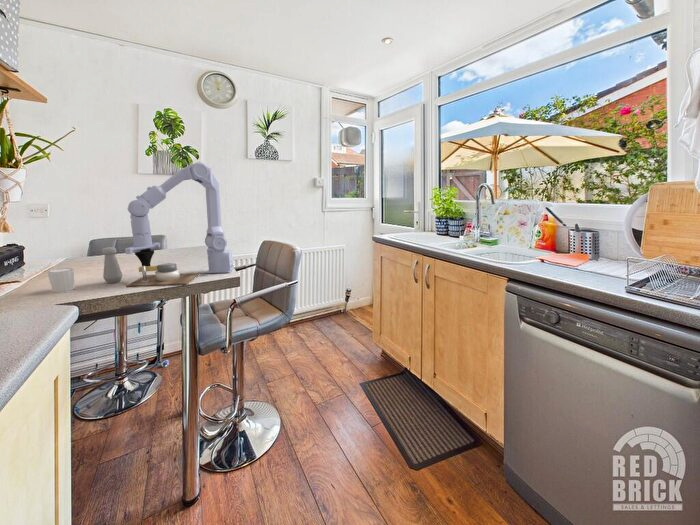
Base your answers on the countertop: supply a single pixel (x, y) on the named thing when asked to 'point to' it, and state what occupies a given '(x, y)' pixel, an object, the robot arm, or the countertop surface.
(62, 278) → the grey tapered cup
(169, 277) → the jar
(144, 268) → the stop pin
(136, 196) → the robot arm
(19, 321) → the countertop surface
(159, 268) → the lid
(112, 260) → the salt shaker
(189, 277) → the board
